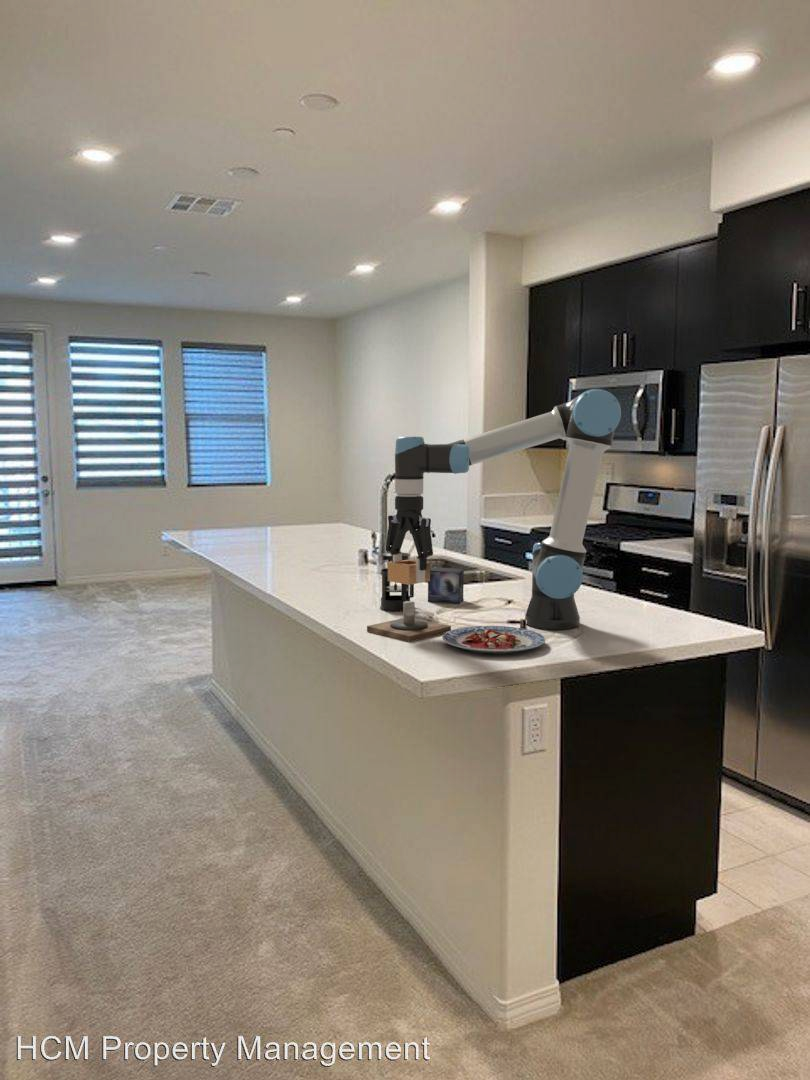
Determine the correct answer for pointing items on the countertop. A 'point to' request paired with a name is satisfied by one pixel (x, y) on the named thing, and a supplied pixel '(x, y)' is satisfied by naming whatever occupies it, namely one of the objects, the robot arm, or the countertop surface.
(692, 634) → the countertop surface
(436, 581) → the small box
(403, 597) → the french press
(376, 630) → the post stand
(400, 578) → the open wooden box
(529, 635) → the ceramic plate
